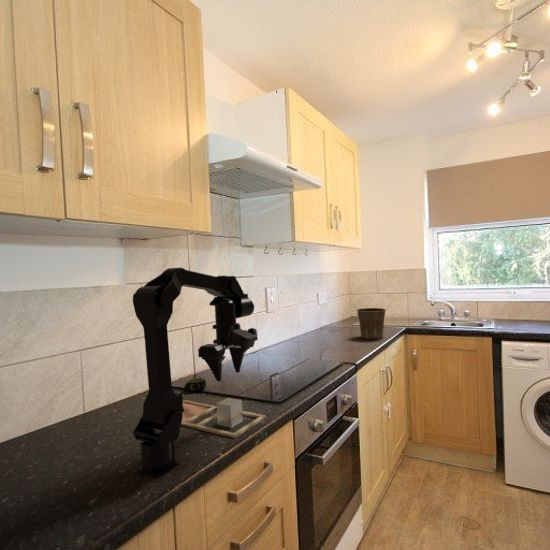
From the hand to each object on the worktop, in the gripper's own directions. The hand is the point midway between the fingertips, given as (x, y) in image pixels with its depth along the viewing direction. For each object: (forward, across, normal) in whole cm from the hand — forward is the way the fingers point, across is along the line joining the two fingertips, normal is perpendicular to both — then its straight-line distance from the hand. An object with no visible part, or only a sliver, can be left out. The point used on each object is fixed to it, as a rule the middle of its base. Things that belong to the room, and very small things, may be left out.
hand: (228, 376), depth 106 cm
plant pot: (+12, +130, -10) cm, 131 cm away
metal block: (+13, 0, 0) cm, 13 cm away
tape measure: (+13, +21, +30) cm, 38 cm away
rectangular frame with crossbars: (+13, +1, +9) cm, 16 cm away
